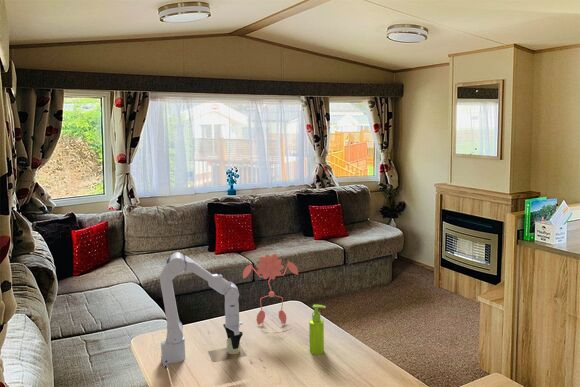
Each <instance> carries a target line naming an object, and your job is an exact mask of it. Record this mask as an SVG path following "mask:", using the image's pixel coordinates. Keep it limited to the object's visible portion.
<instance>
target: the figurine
mask: <svg viewBox="0 0 580 387" xmlns="http://www.w3.org/2000/svg"><path fill="white" fill-rule="evenodd" d="M258 259H259V262H258V263H257V264H256V266H255V267H256V268H257V270H256V269H255V268H254V267H253V265H252V264H251V263H250V264H248V265H247V266H246V267H245V268H244V269H243V271H242V278H243V279H245V278H247V277H248V276H249V275H250V274H251V273H252V270H253V271H254V272H255V274H256V275H258V277H259V278H263V280H267V279H268V281H267V283H268V287H269V289H270V291H269V292H268V295H265V296H263V297H260V299H259V302H260V311H259V312H258V313H257V316H256V323H257V325H258V326H260V325H261V324H262V323H263V322H264V320H265V319H266V312H265V311H264V310H263V308H262V299H264V298H267V297H270V298H273V297H278V298H281V300H282V301H281V306H283V304H284V303H283V302H284V298H283V297H282V296H279V295H275V291H272V287H271V284H270V281H271V280H275V279H276V277H282V276H285V274H286V272H287V269H288V270H289V271H290V272H291V273H293V274H294V275H297V276H298V275H299V268H298V267H297V266H296V264H295V263H293V262H291V261H287V265H286V267H285V266H284V265H283V264H282V259H281V258H279V259H278V255H277V254H276V253H273V254H272V255H269V254H265V256H260V257H258ZM284 268H285V270H284V272H283V274H282V272H281V271H282V270H283V269H284ZM261 274H262V275H261ZM278 319H279V320H280V322H282V324H284V325H285V324H287V314H286V313H285V311H284V310H283V307H281V309H280V310H279V311H278ZM290 330H291V328H289V329H287V330H283V331H282V333H284V332H287V331H290ZM263 333H265V334H266V333H267V334H268V332H267V331H266V332H264V331H263ZM276 333H277V334H278V333H280V331H278V332H275V334H276Z"/></svg>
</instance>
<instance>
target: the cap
mask: <svg viewBox="0 0 580 387" xmlns="http://www.w3.org/2000/svg"><path fill="white" fill-rule="evenodd" d="M240 345H241V341H240V342H239V347H238V349H233V347H232V342H231V338H228V337H227V339H226V348H227V352H228V353H229V354H237V353H239V352H240Z"/></svg>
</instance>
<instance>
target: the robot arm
mask: <svg viewBox="0 0 580 387" xmlns="http://www.w3.org/2000/svg"><path fill="white" fill-rule="evenodd" d="M183 272H184V273H185V274H187V273H194V274H195V275H196V276H198V277H199V278H201V279H203V280H205V281H206V282H207V283H208V285H207V286H208V287H210V288H211V289H213V290H215V291H216V292H217V293H219V294H220V295H224V318H225V319H224V320H225V322H224V323H223V325H222V326H223V328H224V329H225V333H226V337H227V339H228V338H231V342H232V347H233V349H238V347H239V342H240V343H241V338H242V336H243V334H244V333H243V331H240V326H241V325H243V322H242V321H240V304H239V298H240V293H239V292H240V291H239V289H238V286H237V285H236V284H235V283H234V282H232V281H228V280H227V279H226V278H224V277H223V276H224V275H222V274H218V273H211V272H210V271H208V270H207V269H205V267H203V266H201V265H200V264H199V263H197V262H196V261H195V260H193V259H192V258H190V257H189V256H187V255H184V254H183V253H182V252H179V251H176V252H175V251H174V252H173V253H171V254H170V255H169V256H168V257H167V259H166V261H165V263H164V265H163V267H162V269H161V271H160V273H159V283H160V289H161V293H162V300H163V305H164V311H165V312H164V313H165V318H166V338H165V340H164V341H160V352H161V356H160V357H161V358H160V359H161V362H162V366H163V367H164V368H166V367H165V366H167V365H168V364H177V363H180V362H183V361H185V360H186V345H185V344H186V343H185V336H184V334H183V328H184V326H183V323H182V322H181V320H180V317H179V313H178V308H177V302H176V296H175V290H174V283H173V280H174V278H176V276H178V275H180V274H182V273H183Z"/></svg>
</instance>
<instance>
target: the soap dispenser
mask: <svg viewBox="0 0 580 387" xmlns="http://www.w3.org/2000/svg"><path fill="white" fill-rule="evenodd" d="M326 307H327V306H326V305H323V304H312V308H313V312H312V313H311V319H310V320H309V323H308V324H309V327H308V329H309V330H308V331H309V353H310V354H312V355H322V354H323V353H324V352H325V346H324V344H325V343H324V342H325V340H324V339H325V334H324V330H325V329H324V325H325V324H324V321H325V320H323V319H321V312H319V309H323V310H325V309H326Z"/></svg>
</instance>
